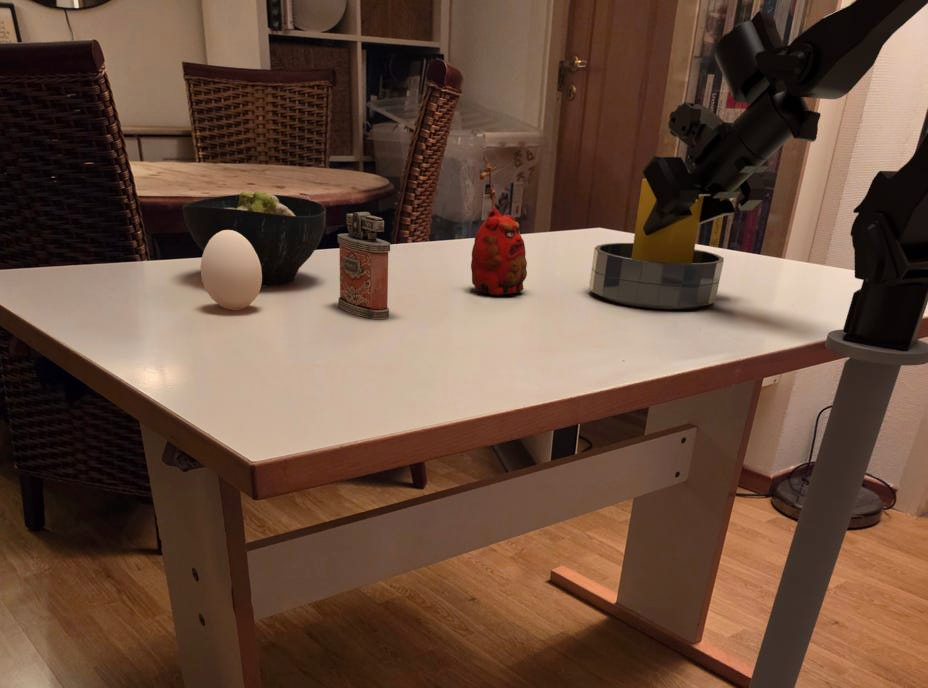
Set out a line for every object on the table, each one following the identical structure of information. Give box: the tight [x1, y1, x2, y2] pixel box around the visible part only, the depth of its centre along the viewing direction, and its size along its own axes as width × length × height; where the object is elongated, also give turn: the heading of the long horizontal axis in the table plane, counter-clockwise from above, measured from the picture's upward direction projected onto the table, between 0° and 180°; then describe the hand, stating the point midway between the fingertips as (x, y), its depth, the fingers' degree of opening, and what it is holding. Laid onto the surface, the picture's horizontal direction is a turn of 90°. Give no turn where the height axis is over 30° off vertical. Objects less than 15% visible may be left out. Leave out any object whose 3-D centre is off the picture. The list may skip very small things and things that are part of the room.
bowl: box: [181, 191, 327, 287], centre depth 106 cm, size 17×17×10 cm
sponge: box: [631, 178, 704, 263], centre depth 110 cm, size 6×5×12 cm
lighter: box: [337, 211, 391, 320], centre depth 94 cm, size 8×3×10 cm, turn 37°
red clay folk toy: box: [470, 156, 528, 297], centre depth 107 cm, size 8×7×15 cm
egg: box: [200, 230, 262, 311], centre depth 92 cm, size 6×6×8 cm
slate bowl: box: [588, 242, 725, 311], centre depth 111 cm, size 16×16×6 cm
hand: (658, 231), depth 110 cm, fingers closed on sponge, 5 cm apart
